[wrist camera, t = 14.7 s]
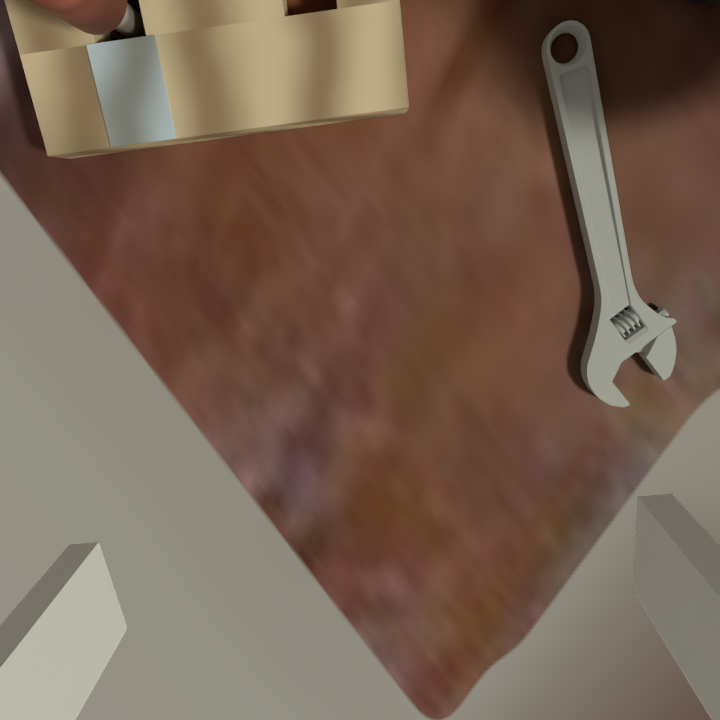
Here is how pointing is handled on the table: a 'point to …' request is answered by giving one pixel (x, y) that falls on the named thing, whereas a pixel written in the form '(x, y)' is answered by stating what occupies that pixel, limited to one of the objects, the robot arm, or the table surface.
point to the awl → (97, 15)
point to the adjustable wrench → (602, 227)
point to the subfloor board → (209, 72)
